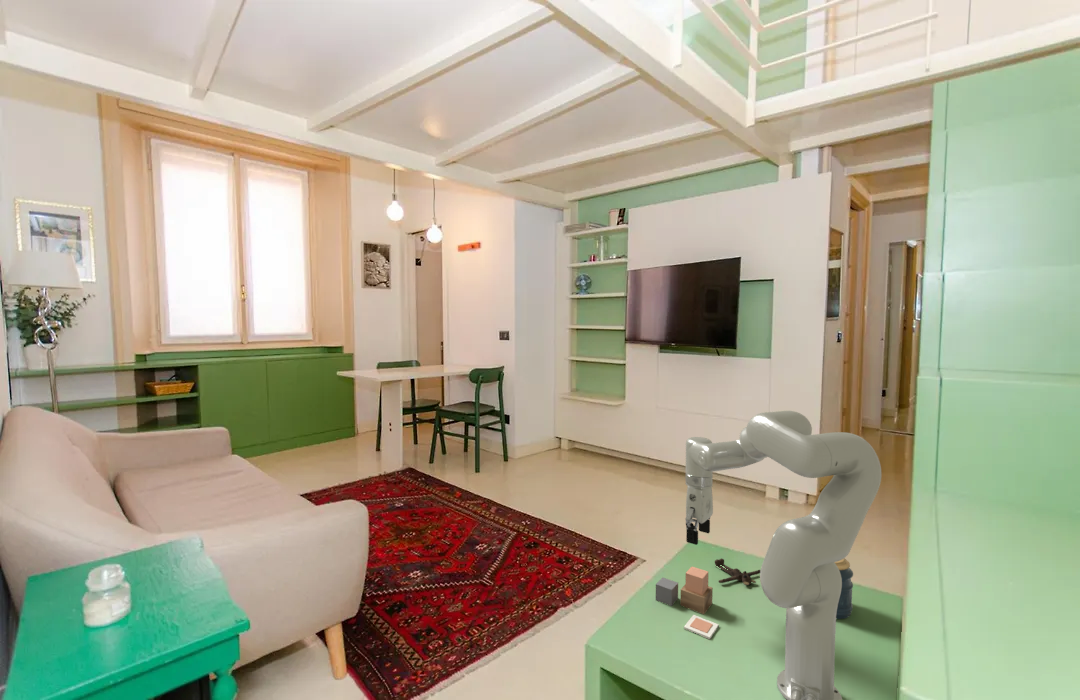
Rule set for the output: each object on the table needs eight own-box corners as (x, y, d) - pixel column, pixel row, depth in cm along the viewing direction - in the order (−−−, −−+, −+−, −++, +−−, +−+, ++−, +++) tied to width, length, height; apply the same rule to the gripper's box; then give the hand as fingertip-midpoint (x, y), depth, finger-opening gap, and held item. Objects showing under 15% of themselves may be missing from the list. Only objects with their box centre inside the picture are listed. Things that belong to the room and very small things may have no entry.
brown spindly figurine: (738, 553, 164) (772, 568, 151) (738, 565, 164) (773, 582, 150) (697, 562, 157) (729, 579, 144) (698, 575, 157) (730, 593, 144)
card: (709, 639, 122) (709, 636, 122) (683, 628, 126) (683, 626, 126) (718, 626, 127) (718, 623, 127) (693, 616, 132) (693, 614, 131)
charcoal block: (671, 606, 137) (671, 589, 137) (655, 600, 140) (655, 584, 140) (678, 598, 141) (678, 582, 140) (662, 593, 144) (662, 577, 144)
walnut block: (704, 615, 133) (704, 598, 132) (680, 606, 137) (680, 589, 137) (712, 604, 138) (712, 587, 138) (689, 595, 142) (689, 579, 142)
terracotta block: (702, 595, 134) (702, 578, 133) (685, 589, 137) (685, 573, 137) (708, 588, 138) (708, 571, 137) (691, 582, 141) (691, 566, 141)
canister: (863, 617, 131) (865, 556, 130) (822, 622, 129) (824, 560, 128) (828, 592, 144) (829, 536, 143) (790, 596, 142) (791, 539, 141)
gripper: (701, 490, 127) (700, 551, 128) (721, 475, 140) (720, 531, 141) (674, 484, 132) (674, 544, 132) (696, 471, 145) (696, 524, 146)
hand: (698, 537), depth 137 cm, fingers open, 9 cm apart
